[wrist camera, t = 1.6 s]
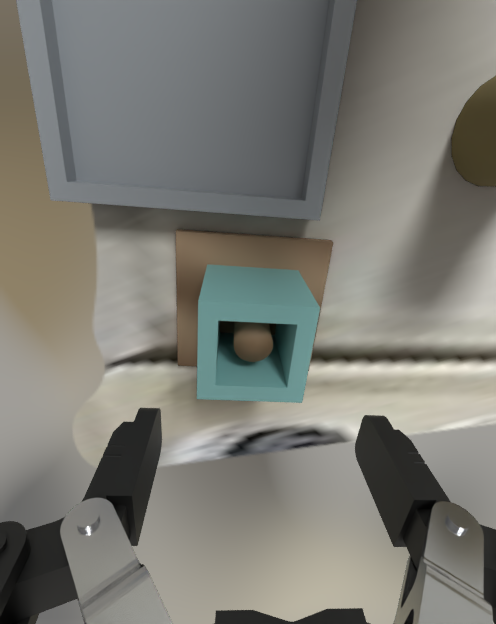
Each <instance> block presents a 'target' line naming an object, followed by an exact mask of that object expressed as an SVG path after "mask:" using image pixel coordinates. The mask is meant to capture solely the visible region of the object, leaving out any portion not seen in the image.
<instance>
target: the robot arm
mask: <svg viewBox="0 0 496 624" xmlns="http://www.w3.org/2000/svg"><path fill="white" fill-rule="evenodd" d="M161 444H162V432H161V411H160V409H159V408H140V409H139V410H138V413H137V415H136V418H135V421H134V422H123V423H122V424H121V425H120V426H119V427H118V428H117V429H116V430H115V431H114V432H113V434H112V436H111V438H110V441H109V443H108V447H106V450H105V452H104V454H103V457H102V459H101V461H100V463H99V465H98V468H97V470H96V472H95V474H94V477H93V479H92V481H91V483H90V486H89V488H88V490H87V492H86V495H85V497H84V499H83V500H82V502H81V503H79V504H77V505H76V506H75V507H74V508H72V509H71V510H70V511H69V512H68V514H67V515H66V516H65V517H64V518H62V519H60V520H58V521H55V522H53V523H49V524H46V525H42V526H40V527H36V528H32V529H29V530H25V528H24V527H23V526H22V525H21V524H20V523H18V522H14V521H8V522H2V523H0V624H35V623H36V621H37V618H38V615H39V613H41V612H43V611H46V610H48V609H51V608H54V607H56V606H59V605H62V604H64V603H67V602H69V601H72V600H75V599H78V603H79V606H80V610H81V613H82V617H83V620H84V624H173V623H172V621H171V619H170V616H169V614H168V612H167V610H166V608H165V606H164V604H163V602H162V599H161V597H160V595H159V593H158V591H157V589H156V587H155V585H154V582H153V580H152V578H151V576H150V574H149V572H148V570H147V569H146V567H145V566H144V565H143V564H142V565H141V564H140V563H139V561H138V559H137V557H136V554H135V552H134V550H133V548H132V546H137V545H138V541H139V537H140V533H141V529H142V525H143V521H144V517H145V513H146V509H147V505H148V501H149V497H150V493H151V489H152V485H153V481H154V477H155V473H156V469H157V465H158V461H159V457H160V452H161ZM355 453H356V458H357V461H358V463H359V466H360V468H361V471H362V473H363V475H364V478H365V480H366V482H367V485H368V487H369V489H370V492H371V494H372V496H373V499H374V501H375V504H376V506H377V508H378V511H379V513H380V516H381V518H382V520H383V522H384V525H385V527H386V530H387V532H388V534H389V537H390V539H391V542H392V544H393V546H394V547H407V549H408V551H409V554H410V556H409V558H408V561H407V565H406V570H405V575H404V580H403V584H402V589H401V594H400V598H399V603H398V608H397V612H396V616H395V620H394V623H393V624H493V622H494V624H496V530H495V529H492V528H489V527H485V526H482V525H480V524H479V523H478V521H477V520H476V519H475V518H474V517H473V516H472V515H471V514H470V513H469V512H468V511H467V510H465V509H464V508H462V507H460V506H459V505H456V504H454V503H451V502H450V501H449V499H448V497H447V496H446V494H445V492H444V491H443V489H442V488H441V486H440V485H439V483H438V482H437V480H436V479H435V477H434V476H433V474H432V472H431V471H430V469H429V468H428V466H427V465H426V464H425V463H424V460H423V459H422V457H421V455H420V454H418V451H417V449H416V448H415V446H414V445H413V443H412V441H411V440H410V439H409V438H408V437H407V436H405V435H404V434H403V433H402V432H401V431H400V430H394V429H393V427H392V425H391V424H390V422H389V421H388V419H387V418H386V417H385V416H374V415H365V416H364V417H363V419H362V423H361V426H360V430H359V433H358V436H357V440H356V444H355ZM214 624H370V623H367V622H366V620H365V616H364V613H363V609H362V608H360V609H359V608H358V609H326V610H323V611H321V612H318V613H316V614H313V615H311V616H308V617H305V618H303V619H300V620H298V621H294V622H288V621H285V620H282V619H279V618H276V617H273V616H270V615H266V614H263V613H260V612H257V611H254V610H231V611H229V610H228V611H216V618H215V623H214Z"/></svg>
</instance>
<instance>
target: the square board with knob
mask: <svg viewBox="0 0 496 624" xmlns="http://www.w3.org/2000/svg"><path fill="white" fill-rule="evenodd" d="M332 247H333V242H332V241H331V240H321V239H307V238H293V237H278V236H264V235H250V234H236V233H222V232H208V231H194V230H180V229H177V230H176V281H177V342H178V366H197V351H198V300H199V296H200V292H201V288H202V284H203V280H204V276H205V272H206V268H207V264H208V265H224V266H240V267H256V268H271V269H287V270H298V271H299V272H300V274H301V276H302V278H303V279H304V281H305V283H306V284H307V286H308V288H309V290H310V291H311V293H312V295H313V296H314V298H315V300H316V301H317V303H318V305H319V307H320V310H321V304H322V299H323V294H324V289H325V283H326V278H327V273H328V268H329V263H330V257H331V252H332ZM319 315H320V312H319ZM318 320H319V317H318ZM317 325H318V322H317ZM275 329H276V324H275V323H255V322H236V321H220V333H234V350H235V352H236V354H237V355H238V356H239V357H240V358H241V359H243V360H245V361H249V362H257V361H261V360H263V359H265V358H266V357H267V356H268V355H269V354H270V353H271V351H272V349H273V340H272V335H275ZM316 330H317V327H316ZM315 336H316V333H315ZM314 341H315V338H314ZM313 346H314V343H313ZM312 351H313V348H312ZM311 356H312V353H311ZM310 362H311V359H310ZM309 367H310V364H309ZM308 371H309V369H308Z"/></svg>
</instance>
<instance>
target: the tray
mask: <svg viewBox="0 0 496 624" xmlns="http://www.w3.org/2000/svg"><path fill="white" fill-rule="evenodd" d="M16 2H17V8H18V13H19V19H20V25H21V31H22V36H23V42H24V48H25V53H26V60H27V66H28V71H29V77H30V83H31V89H32V95H33V100H34V106H35V112H36V118H37V123H38V129H39V135H40V141H41V147H42V153H43V158H44V164H45V170H46V175H47V181H48V187H49V193H50V199H51V200H55V201H68V202H82V203H95V204H108V205H122V206H135V207H148V208H161V209H175V210H188V211H201V212H215V213H228V214H241V215H255V216H268V217H281V218H294V219H308V220H320V216H321V211H322V205H323V199H324V193H325V187H326V181H327V175H328V169H329V163H330V157H331V151H332V146H333V140H334V134H335V128H336V122H337V116H338V110H339V104H340V98H341V92H342V86H343V81H344V75H345V69H346V63H347V57H348V51H349V45H350V39H351V33H352V27H353V22H354V16H355V10H356V4H357V0H16Z"/></svg>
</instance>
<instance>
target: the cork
mask: <svg viewBox="0 0 496 624" xmlns="http://www.w3.org/2000/svg"><path fill="white" fill-rule="evenodd" d="M452 158H453V161H454V164H455V167H456V170H457V171H458V172H459V173H460V175H461V176H462V177H463V178H464V179H465V180H466V181H468V182H470V183H472V184H475V185H477V186H490V187H493V186H496V76H495V77H493V78H492V79H490V80H489V81H487V82H486V83H485V84H483V85H482V86H480V87H479V89H478V90H477V91H476V92H475V93H474V94H473V95H472V96H471V97H470V99H469V100H468V101H467V102H466V104H465V106H464V107H463V109H462V111H461V113H460V115H459V117H458V118H457V120H456V124H455V128H454V131H453V135H452Z"/></svg>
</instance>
